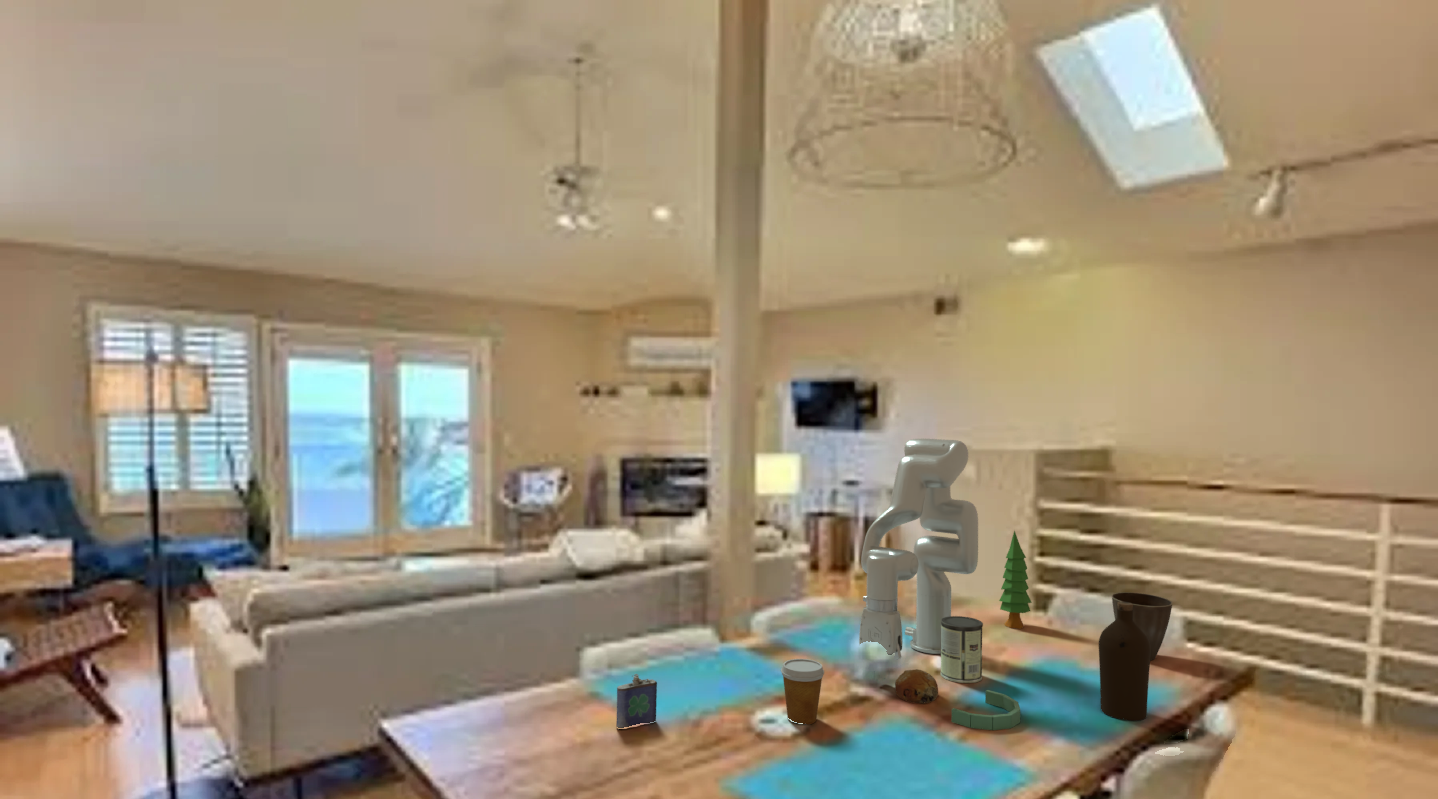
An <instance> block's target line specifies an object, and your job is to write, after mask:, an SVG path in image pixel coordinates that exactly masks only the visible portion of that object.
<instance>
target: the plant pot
mask: <svg viewBox="0 0 1438 799" xmlns="http://www.w3.org/2000/svg"><path fill="white" fill-rule="evenodd" d="M1111 602H1112V609H1113V615H1114V621H1115V620H1116V618H1117V608H1118V606H1117V603H1118V602H1129V603H1132V604H1133V607H1132V610H1133V621H1134V622H1135V624H1136V625H1137V626H1138V627H1139V628H1140V629H1141V630H1142V631H1143V632H1144V634H1145V635H1146V636H1147V638H1148V640H1149V643H1150V647H1151V656H1150V661H1154V660H1155V659H1156V657H1157V655H1158V653H1159V651H1160V649H1161V646H1162V644H1163V641H1164V638H1165V635H1166V633H1167V629H1168V626H1169V622H1170V618H1171V614H1172V608H1173V602H1172V600H1170V599H1168V598H1165V597H1164V596H1163V597H1162V596H1158V595H1155V594H1147V593H1140V592H1124V591H1123V592H1116V593H1113V594H1111Z"/></svg>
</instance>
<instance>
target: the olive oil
mask: <svg viewBox="0 0 1438 799" xmlns="http://www.w3.org/2000/svg"><path fill="white" fill-rule="evenodd" d="M1117 606H1118V608H1117V618H1116V620H1115V619H1114V620H1113V622H1111V623H1110V624H1109V625H1108V626H1106V627H1105V628H1104V629H1103V630H1102V631H1101V633H1100V636H1099V638H1098V659H1099V688H1100V689H1099V690H1100V691H1099V694H1100V698H1099V700H1100V710H1101V712H1102V713H1103V714H1104V715H1107V716H1109V717H1111V718H1114V719H1117V720H1123V721H1129V722H1130V721H1131V722H1132V721H1133V722H1135V721H1136V722H1137V721H1143V720H1145V719H1146V718H1147V715H1148V695H1149V692H1148V691H1149V683H1150V682H1149V681H1150V680H1149V679H1150V666H1151V660H1150V656H1151V647H1150V643H1149V640H1148V638H1147V636H1146V635H1145V634H1144V632H1143V631H1142V630H1141V629H1140V628H1139V627H1138V626H1137V625H1136V624H1135V622H1134V621H1133V610H1132V607H1133V604H1132V603H1129V602H1118V603H1117Z"/></svg>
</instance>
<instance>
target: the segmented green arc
mask: <svg viewBox="0 0 1438 799" xmlns="http://www.w3.org/2000/svg"><path fill="white" fill-rule="evenodd" d="M985 704H989V705H992V706H996V707H998V708H1002V709H1004V710H1005V711H1007V713H1002V714H999V713H998V714H993V715H990V714H980V713H972V712H968V711H965V710H962V709H958V708H955V707H953V708H951V721H950V722H951V723H953V724H957V725H960V726H963V727H966V728H969V729H977V730H986V731H997V730H1000V731H1001V730H1007V729H1008V730H1009V729H1012V728H1014V727H1015V726H1017V725H1018V724H1020V723H1021V708H1020V703H1019V702H1018V701H1017V700H1016V699H1014V698H1012V697H1010V696H1008V695H1007V694H1005V693H1001V692H997V691H994V690H989V689H987V690H985Z"/></svg>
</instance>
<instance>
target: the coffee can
mask: <svg viewBox="0 0 1438 799" xmlns="http://www.w3.org/2000/svg"><path fill="white" fill-rule="evenodd" d="M983 626H984V623H983V621H981V620H979V619H977V618H974V617H971V616H970V617H969V616H960V615H959V616H958V615H955V616H954V615H953V616H952V615H951V616H950V617H945V618H942V619H941V654H940V676H941V677H942V678H943V679H945V680H946V681H947V680H948V681H950V682H954V683H960V684H961V683H962V684H975V683H979V682H981V681H982V679H983Z"/></svg>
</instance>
